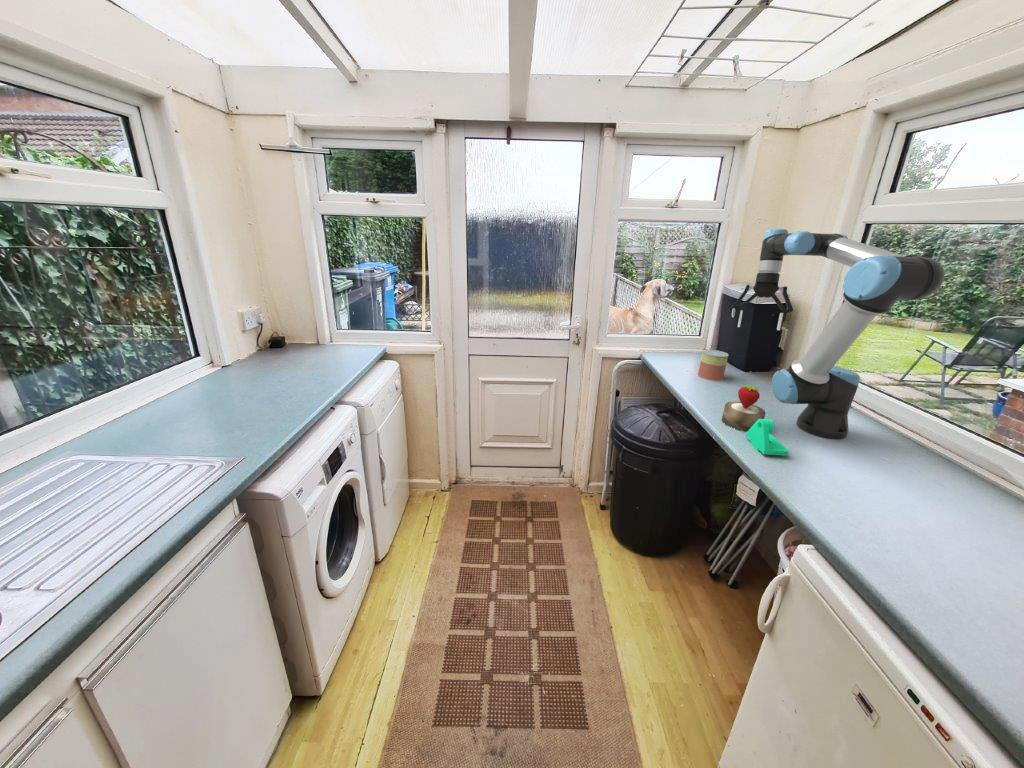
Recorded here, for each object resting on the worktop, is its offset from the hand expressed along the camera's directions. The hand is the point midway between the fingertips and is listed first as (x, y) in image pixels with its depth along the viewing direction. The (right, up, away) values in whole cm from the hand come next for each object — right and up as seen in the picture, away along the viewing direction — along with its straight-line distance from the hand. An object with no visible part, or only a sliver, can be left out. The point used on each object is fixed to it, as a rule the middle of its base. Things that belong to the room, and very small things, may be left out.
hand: (758, 328), depth 164 cm
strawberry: (-12, -31, -13) cm, 36 cm away
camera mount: (-14, -43, -27) cm, 53 cm away
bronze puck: (-13, -36, -11) cm, 40 cm away
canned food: (-1, -19, +37) cm, 41 cm away
